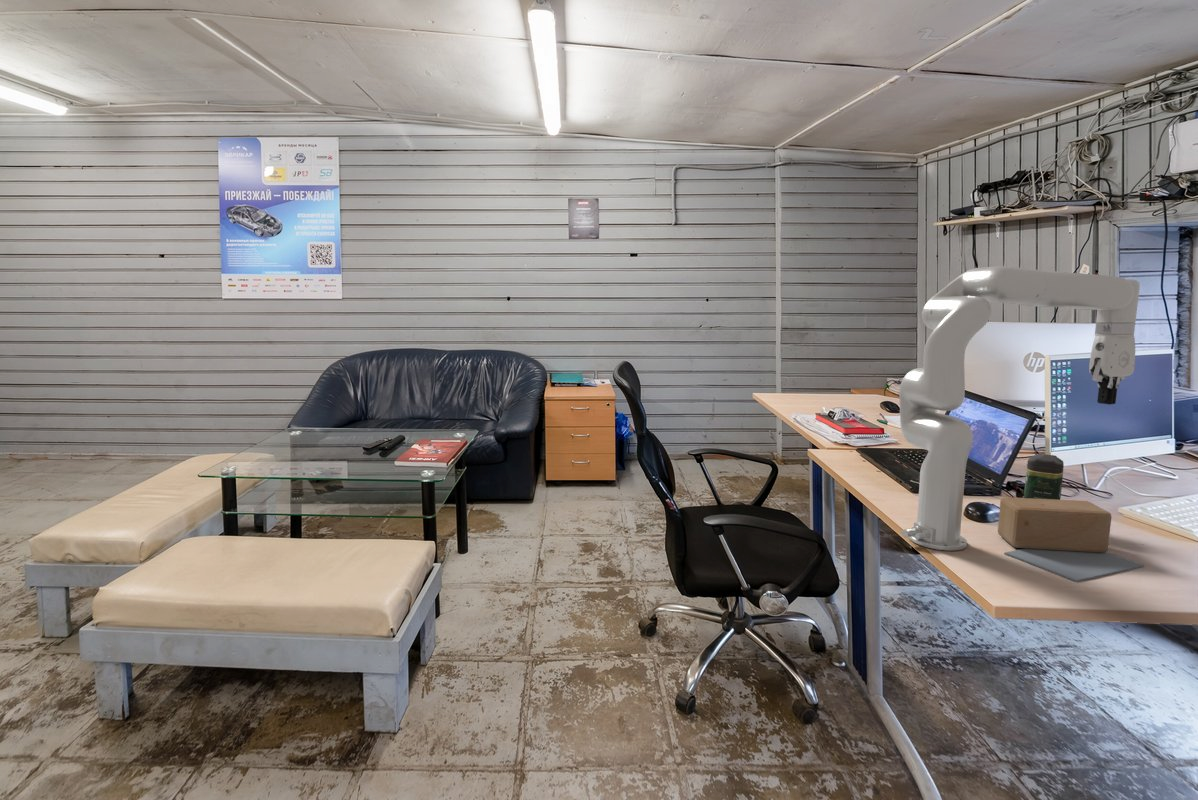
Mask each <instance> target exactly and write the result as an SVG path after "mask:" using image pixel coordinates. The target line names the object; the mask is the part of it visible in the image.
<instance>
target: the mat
mask: <svg viewBox="0 0 1198 800" xmlns="http://www.w3.org/2000/svg"><path fill="white" fill-rule="evenodd" d="M1004 555H1005V556H1008V557H1011V558H1014V559H1016V560H1018V559H1019V561H1021V562H1024V563H1026V564H1029V565H1032V566H1034V567H1037V568H1039V569H1042V570H1045V571H1047V572H1050V573H1052V574H1055V575H1057V576H1059V577H1062V578H1065V579H1067V580H1070V581H1073V582H1075V583H1079V582H1083V581H1086V580H1090V579H1091V580H1093V579H1097V578H1100V577H1104V576H1105V577H1106V576H1109V575H1113V574H1116V573H1117V574H1118V573H1123V572H1127V571H1130V570H1135V569H1140V568H1143V567H1145V565H1144V564H1143V563H1139V562H1137V561H1133V560H1132V559H1128V558H1124V557H1122V556H1118V555H1116V554H1112V553H1109V552H1108V551H1107V552H1105V553H1099V552H1082V551H1065V550H1048V549H1031V548H1019V549H1016V550H1010V551H1006V552H1004ZM1139 567H1140V568H1139ZM1126 570H1127V571H1126Z"/></svg>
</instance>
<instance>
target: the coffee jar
mask: <svg viewBox="0 0 1198 800" xmlns="http://www.w3.org/2000/svg"><path fill="white" fill-rule="evenodd" d="M1026 462H1027V465H1026V472H1025V473H1026V474H1025V480H1024V481H1025V483H1024V492H1023V498H1032V499H1054V500H1061V498H1062V489H1063V478H1064V461H1063V460H1062V459H1061V458H1059V457H1057V455H1053V454H1047V453H1046V454H1045V453H1037V454H1035V455H1032V456H1030V457H1029V458H1028V459H1027V461H1026Z"/></svg>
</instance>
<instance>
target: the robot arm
mask: <svg viewBox="0 0 1198 800" xmlns="http://www.w3.org/2000/svg"><path fill="white" fill-rule="evenodd" d="M1139 296H1140V282H1139V281H1138V280H1137V279H1132V278H1131V279H1130V278H1129V279H1128V278H1124V277H1121V276H1113V275H1105V274H1093V273H1077V272H1076V273H1075V272H1066V271H1055V270H1043V269H1033V268H1032V269H1031V268H1024V267H1015V266H1008V265H1007V266H1006V265H996V266H986V267H974V268H971V269H968V270H967V271H965V272H963V273H961V274H960V275H959V276H957V277H956V278H955V279H953V280H951V282H949V283H948V284H947V285H946V286H945V287H943V288H942V289H941V290H940V291H938V292H937V293H936V294H934V295H933V296H932V297H931V298H929V299H928V300H927V302H926V303H925V305H924V306H923V308H922V310H921V311H922V312H921V318H922V319H921V320H922V322H923V324H924V325H925V327H927V328H928V329H929V330H932V332H931V334H930V335H929V336H928V338H927V340H926V343H925V345H924V350H923V363H922V364H923V366H922V367H917V368H914V369H911V370H909V371H908V372H907V373H906V374H905V375H904V377H903V378H902V380H901V382H900V386H899V394H898V395H899V416H900V419H899V420H900V430H901V434H902V436H903V438H904V440H905V441H906V442H907V443H908V444H910V445H912V446H914V447H917V448H920V449H923V450H924V451H925V450H926V451H927V454H926V456H925V458H924V459H923V462H922V464H921V466H920V472H919V486H918V487H919V489H918V499H917V500H918V501H917V502H918V503H917V516H916V522H913V526H912V527H911V528H906V529H903V530H902V531H901V535H902V537H903V538H909V540H910V541H911V542H913V543H914V544H916V545H919V546H921V547H925V548H928V549H932V550H939V551H949V552H950V551H951V552H952V551H953V552H954V551H960V550H963V549H965V548H967V545H968V540H967V539H966V538H965V537H963V536H962V535H961V531H962V530H961V527H962V526H961V525H962V519H963V517H962V515H963V502H964V489H965V480H966V479H965V478H966V468H967V463H968V462H967V461H968V458H969V454H970V452H971V449H972V446H973V439H974V435H973V431H972V428H971V427H970V425H968V423H967V422H966V421H964V420H962V419H960V418H959V417H956V416H953V415H947V414H944V413H939V412H936V410H937V411H942V412H949V411H950V412H951V411H955V410H957V409H959V408H960V407H961V406H962V405H963V403H964V400H965V395H966V394H965V393H966V390H965V389H966V388H965V387H966V385H965V384H966V381H965V378H966V376H965V375H966V374H965V354H966V349H967V347H968V346H969V343H970V342H971V340H972V339H973V337H974V336H975V335H976V334H977V333H978V332H979V331H981V329H983V328H984V326H986V324H988V322H989V320H990V318H991V313H992V307H991V304H990V303H995V304H996V303H997V304H998V303H999V304H1009V305H1019V306H1027V307H1028V306H1029V307H1030V306H1031V307H1038V308H1039V307H1041V308H1042V307H1044V308H1063V307H1064V308H1065V307H1068V308H1071V309H1073V310H1079V311H1095V310H1096V320H1095V328H1094V329H1095V330H1094V340H1093V344H1092V347H1091V352H1090V357H1089V366H1088V367H1089V368H1088V369H1089V374H1090V375H1092V378H1091V379H1092V381H1094V382H1097V388H1098V393H1097V400H1096V401H1097V403H1098V404H1103V405H1115V404H1116V401H1117V393H1118V389H1119V386H1120V382H1121V381H1123V380H1125V379H1127V377H1129V376H1131V375H1133V374H1134V372H1135V365H1136V363H1135V362H1136V340H1135V339H1136V338H1135V331H1136V330H1135V329H1136V320H1137V313H1138V307H1139V306H1138V305H1139Z"/></svg>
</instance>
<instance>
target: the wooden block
mask: <svg viewBox="0 0 1198 800" xmlns="http://www.w3.org/2000/svg"><path fill="white" fill-rule="evenodd" d="M999 502H1000V503H999V514H998V525H997V534H998V535H999V536H1000V537H1001V538H1003V540H1005V541H1007V543H1008V544H1010V546H1012V547H1014V548H1017V549H1025V548H1031V549H1048V550H1065V551H1082V552H1099V553H1105V552H1107V553H1108V550H1109V542H1110V534H1111V532H1110V531H1111V525H1112V514H1111V512H1110V511H1107V510H1106V509H1104V508H1102V507H1100V506H1098V505H1096V504H1094V503H1092V502H1091V501H1088V500H1075V499H1060V500H1054V499H1032V498H1024V497H1008V496H1005V497H1001V499H1000V501H999Z"/></svg>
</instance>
